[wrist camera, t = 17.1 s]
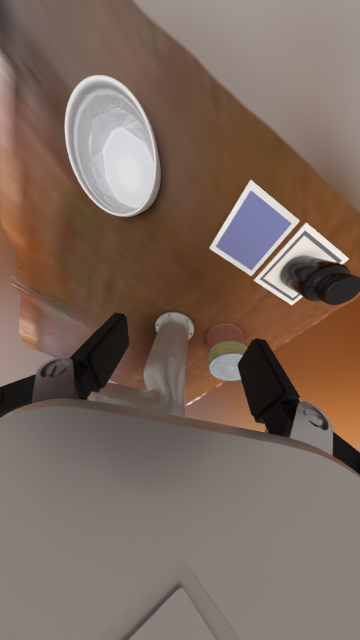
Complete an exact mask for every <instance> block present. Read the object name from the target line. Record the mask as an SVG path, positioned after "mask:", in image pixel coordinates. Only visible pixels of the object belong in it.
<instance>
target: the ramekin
mask: <svg viewBox="0 0 360 640" xmlns="http://www.w3.org/2000/svg"><path fill="white" fill-rule="evenodd" d="M65 139H66V146H67V151H68V155H69V159H70V162H71V165H72V168H73V170H74V173H75V175H76V177H77V179H78V181H79V183H80V184H81V186H82V188H83V189H84V191H85V192H86V193H87V195H88V196H89V197H90V198H91V199H92V200H93V202H95V203H96V204H97V205H98V206H99V207H100V208H102V209H103V210H105V211H106V212H108V213H110V214H113V215H116V216H121V217H131V216H135V215H137V214H139V213H141V212H143V211H145V210H146V209H148V208H149V207H150V206H151V205H152V204H153V203H154V200H155V199H156V196H157V194H158V190H159V188H160V182H161V181H160V179H161V168H160V160H159V155H158V151H157V145H156V141H155V137H154V133H153V130H152V127H151V125H150V122H149V120H148V118H147V116H146V114H145V112H144V110H143V108H142V107H141V105H140V103H139V102H138V100H137V99H136V98H135V96H134V95H133V94H132V93H131V92H130V90H129V89H128V88H127V87H125V86H124V85H123V84H122V83H120V82H119V81H118V80H116V79H114V78H112V77H109V76H105V75H94V76H90V77H87V78H85V79H84V80H82V81H81V82H80V83H79V84H78V85H77V86H76V88H75V89H74V91H73V92H72V94H71V96H70V99H69V102H68V105H67V109H66V116H65Z"/></svg>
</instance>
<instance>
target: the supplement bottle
mask: <svg viewBox="0 0 360 640" xmlns="http://www.w3.org/2000/svg"><path fill="white" fill-rule="evenodd" d="M281 281H282V283H283V284H284V285H286V286H287V287H289V288H290V289H292V290H293V291H295V292H296V293H298V294H300V295H301V296H303V297H304V298H306V299H308V300H311V301H324V302H325V303H327V304H331V305H339V304H342V303H345V302H347V301H349V300H351V299H353V298H354V297H355V296H356V295H357V294H358V293H359V292H360V278H359V277H357V276H354V275H352V274H350V271H349V269H348V268H347V267H346V266H345V265H343V264H340V263H336V262H332V261H328V260H324V259H320V258H316V257H311V256H299V257H296V258H294V259H292V260H291V261H289V262H288V263H287V264H286V265H285V266H284V268H283V270H282V272H281Z"/></svg>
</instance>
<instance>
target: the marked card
mask: <svg viewBox="0 0 360 640" xmlns="http://www.w3.org/2000/svg"><path fill="white" fill-rule="evenodd" d="M299 256H311V257H316V258H320V259H324V260H328V261H332V262H336V263H340V264H343V263H345V262H346V261H347V260H348V259H349V258H348V257H346V256H345V255H344V254H343V253H342V252H340V251H339V250H338V249H337V248H336V247H335V246H333V245H332V244H331V243H330V242H329V241H327V240H326V239H325V238H324V237H323V236H321V235H320V234H319V233H318V232H317V231H316V230H314V229H313V228H312V227H311V226H310V225H308V224H307V223H305V224H304V225H303V226H302V227H301V228H300V229H299V230H298V231H297V232H296V234H295V235H294V236H293V237H292V238H291V239H290V240H289V241H288V242H287V243H286V245H285V246H284V247H283V248H282V249H281V250H280V251H279V252H278V253H277V255H276V256H275V257H274V258H273V259H272V260H271V261H270V262H269V263H268V264H267V266H266V267H265V268H264V269H263V270H262V271H261V272H260V273H259V274H258V275H257V277H256V278H255V279H254V281H255V282H257V283H258V284H260V285H262V286H263V287H265V288H266V289H268V290H269V291H271V292H272V293H274V294H275V295H277V296H278V297H280V298H281V299H283V300H285V301H286V302H288V303H289V304H291V305H293V304H294V303H295V302H296V301H298V300H299V299H300V298H301V297H303V296H301V295H300V294H298V293H296V292H295V291H293V290H292V289H290V288H289V287H287V286H286V285H284V284H283V283H282V281H281V272H282V270H283V268H284V266H285V265H286V264H287V263H288V262H289V261H291V260H292V259H294V258H296V257H299Z"/></svg>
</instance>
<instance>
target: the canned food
mask: <svg viewBox="0 0 360 640" xmlns="http://www.w3.org/2000/svg"><path fill="white" fill-rule="evenodd" d="M207 344H208V357H209V371H210V373H211V374H212V375H213V376H214V377H216V378H218V379H221V380H226V381H235V380H240V379H241V377H240V373H239V370H238V362H239V361H240V359H241V358H242V356H243V354H244V353H245V351H246V350H247V348H248V347H247V345H246V342H245V340H244V337H243V335H242V331H241V330H240V329H239V328H238V327H237V326H235V325H233V324H219V325H216V326H214V327H213V328H211V329H210V330H209V332H208V334H207Z"/></svg>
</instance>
